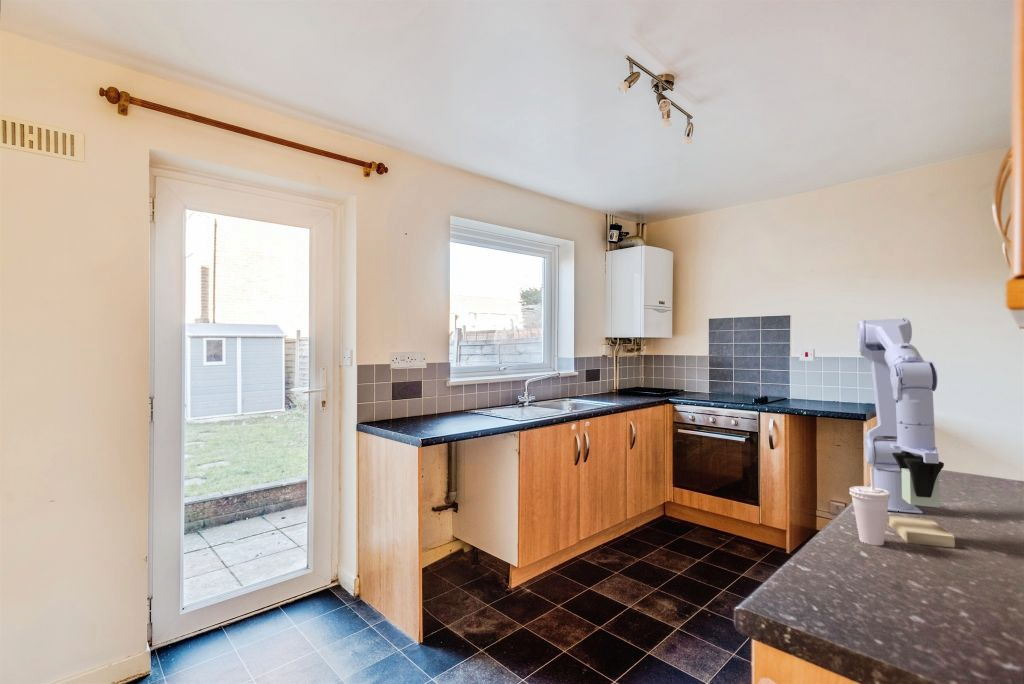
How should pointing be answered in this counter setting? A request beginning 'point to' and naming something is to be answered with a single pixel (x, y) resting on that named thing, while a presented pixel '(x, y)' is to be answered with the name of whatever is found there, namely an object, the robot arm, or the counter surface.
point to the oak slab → (921, 531)
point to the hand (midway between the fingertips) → (918, 493)
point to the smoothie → (870, 511)
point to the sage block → (911, 497)
